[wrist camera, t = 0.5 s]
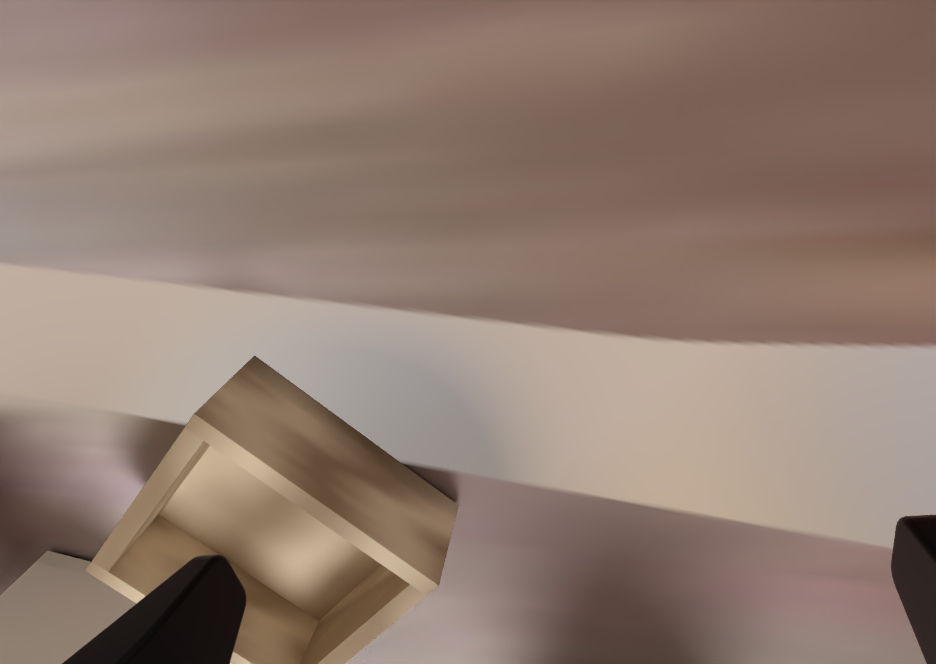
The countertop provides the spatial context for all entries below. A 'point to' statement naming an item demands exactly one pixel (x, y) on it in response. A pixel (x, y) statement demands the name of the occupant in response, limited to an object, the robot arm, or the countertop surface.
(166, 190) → the countertop surface
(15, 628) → the grey tote
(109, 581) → the beech crate
